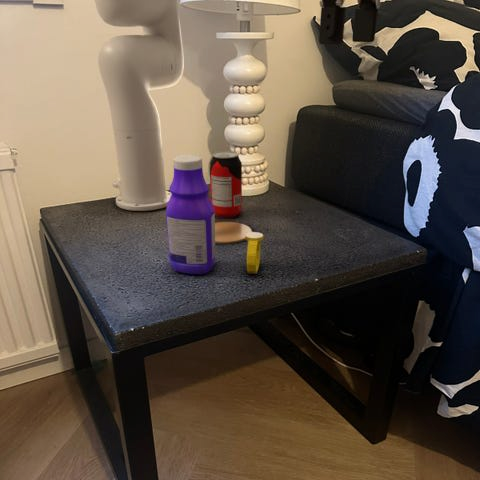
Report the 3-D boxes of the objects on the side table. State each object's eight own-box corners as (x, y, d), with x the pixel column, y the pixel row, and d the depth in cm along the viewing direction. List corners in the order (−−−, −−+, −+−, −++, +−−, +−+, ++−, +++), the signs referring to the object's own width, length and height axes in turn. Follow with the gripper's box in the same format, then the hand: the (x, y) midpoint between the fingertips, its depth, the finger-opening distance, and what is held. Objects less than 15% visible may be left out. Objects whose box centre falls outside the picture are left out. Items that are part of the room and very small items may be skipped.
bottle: (219, 263, 78) (216, 154, 69) (210, 278, 73) (205, 163, 64) (177, 259, 79) (169, 151, 70) (165, 274, 75) (155, 160, 65)
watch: (259, 279, 73) (260, 243, 70) (242, 277, 73) (242, 242, 70) (264, 262, 78) (265, 228, 75) (247, 261, 78) (248, 227, 75)
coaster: (187, 235, 88) (187, 233, 88) (221, 220, 95) (221, 218, 95) (229, 248, 83) (229, 246, 83) (262, 231, 90) (262, 229, 90)
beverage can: (248, 213, 98) (248, 153, 92) (227, 221, 94) (226, 159, 88) (225, 206, 102) (224, 148, 95) (205, 214, 98) (202, 154, 91)
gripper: (366, -108, 63) (350, 40, 72) (298, -137, 52) (290, 44, 61) (421, -116, 59) (398, 41, 69) (362, -150, 48) (343, 45, 57)
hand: (347, 42), depth 65 cm, fingers open, 9 cm apart
